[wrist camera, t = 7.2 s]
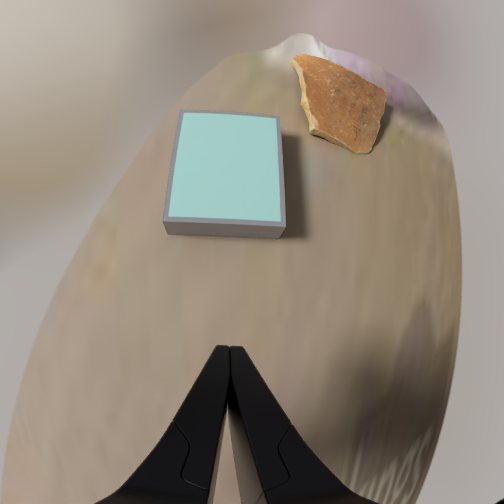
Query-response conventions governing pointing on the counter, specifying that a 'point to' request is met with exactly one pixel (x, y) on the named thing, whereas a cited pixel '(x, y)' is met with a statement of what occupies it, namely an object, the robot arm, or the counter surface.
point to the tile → (226, 176)
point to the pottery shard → (339, 103)
